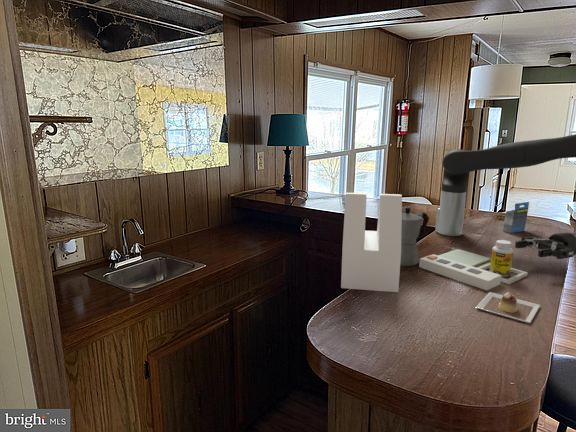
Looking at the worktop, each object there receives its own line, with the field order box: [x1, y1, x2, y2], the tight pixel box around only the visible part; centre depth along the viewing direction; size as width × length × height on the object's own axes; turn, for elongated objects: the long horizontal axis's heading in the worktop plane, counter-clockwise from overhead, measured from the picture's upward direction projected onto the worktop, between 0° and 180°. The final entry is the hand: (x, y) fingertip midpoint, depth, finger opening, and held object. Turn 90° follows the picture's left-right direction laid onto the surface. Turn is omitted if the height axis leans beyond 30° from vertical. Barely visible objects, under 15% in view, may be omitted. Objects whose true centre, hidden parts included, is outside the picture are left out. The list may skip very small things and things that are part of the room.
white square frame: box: [477, 261, 528, 285], centre depth 125 cm, size 11×11×1 cm
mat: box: [438, 248, 491, 267], centre depth 138 cm, size 12×12×1 cm
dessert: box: [475, 291, 541, 324], centre depth 103 cm, size 12×12×5 cm
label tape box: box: [502, 201, 530, 234], centre depth 168 cm, size 9×4×12 cm, turn 118°
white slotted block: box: [340, 192, 403, 293], centre depth 120 cm, size 19×15×25 cm
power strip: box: [418, 253, 501, 291], centre depth 124 cm, size 22×10×3 cm, turn 37°
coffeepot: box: [400, 207, 430, 267], centre depth 134 cm, size 15×9×18 cm, turn 115°
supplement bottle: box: [488, 239, 514, 278], centre depth 123 cm, size 6×6×10 cm
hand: (527, 249), depth 126 cm, fingers open, 8 cm apart
